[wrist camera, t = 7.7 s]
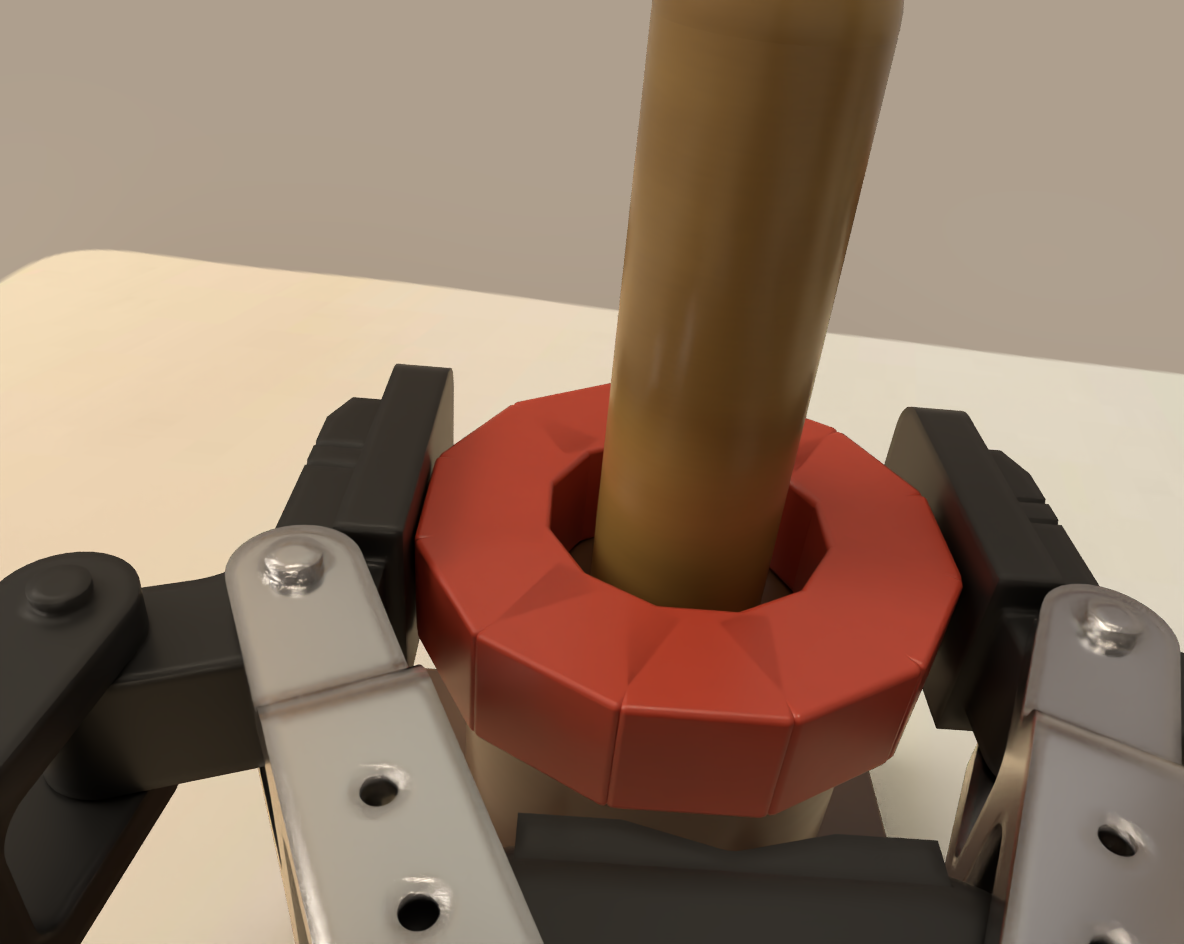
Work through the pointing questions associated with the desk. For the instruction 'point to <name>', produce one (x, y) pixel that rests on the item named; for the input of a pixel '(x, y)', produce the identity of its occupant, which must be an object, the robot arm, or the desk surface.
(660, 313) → the ring stand
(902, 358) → the desk surface
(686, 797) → the ring
